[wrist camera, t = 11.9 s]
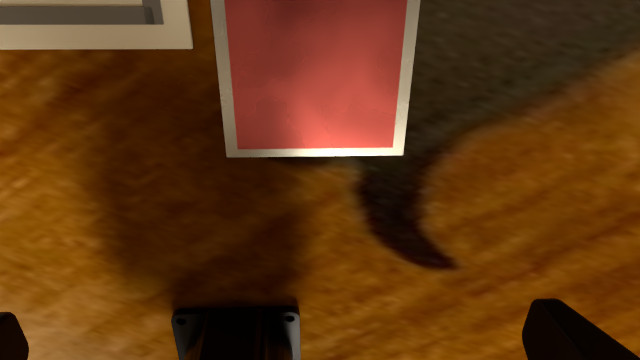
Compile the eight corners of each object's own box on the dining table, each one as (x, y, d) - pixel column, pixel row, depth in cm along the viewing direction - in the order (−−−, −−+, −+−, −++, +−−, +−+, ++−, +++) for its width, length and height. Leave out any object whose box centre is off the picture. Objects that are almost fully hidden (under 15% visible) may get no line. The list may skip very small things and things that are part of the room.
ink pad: (397, 141, 20) (404, 158, 19) (230, 143, 20) (225, 160, 19) (423, -108, 16) (434, -108, 14) (205, -110, 15) (197, -110, 14)
